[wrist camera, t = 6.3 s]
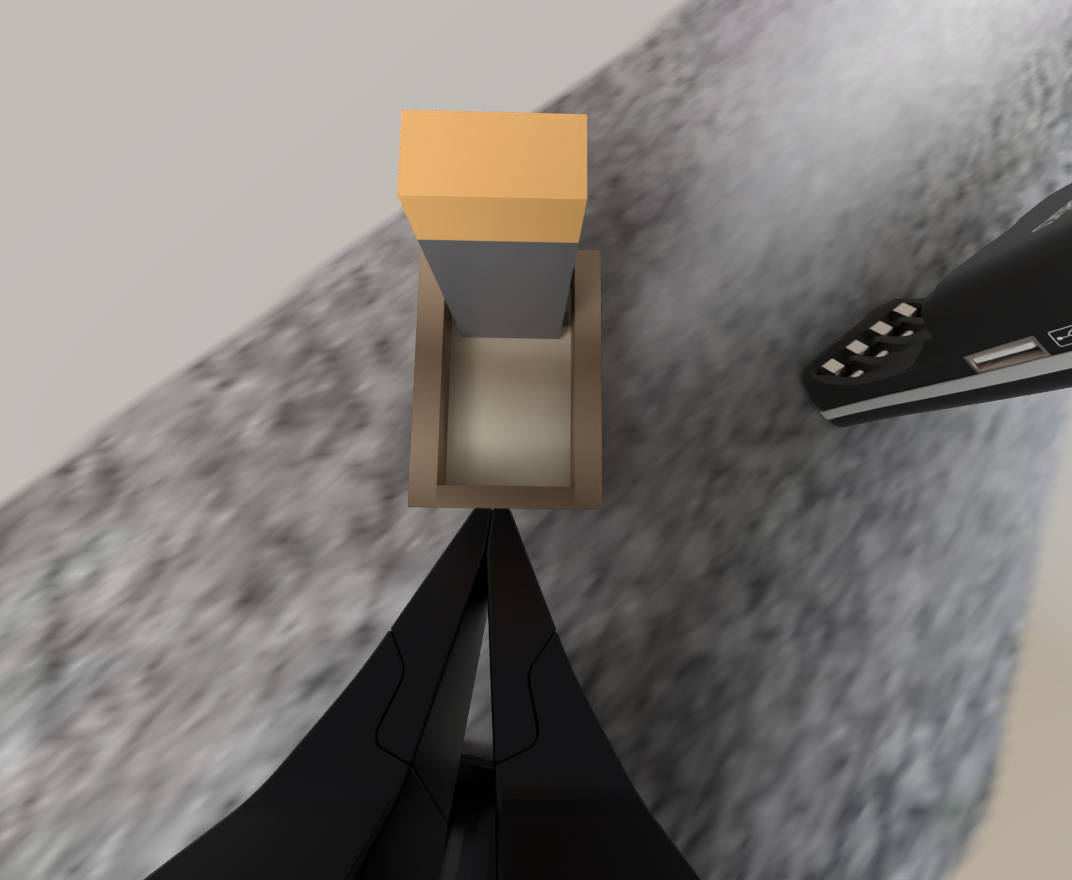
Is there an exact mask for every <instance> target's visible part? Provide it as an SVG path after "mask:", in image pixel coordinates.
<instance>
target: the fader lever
mask: <svg viewBox="0 0 1072 880" xmlns="http://www.w3.org/2000/svg"><path fill="white" fill-rule="evenodd" d="M397 190H398V191H397V196H398V198H399V200H400V202H401V204H402V207H403V209H404V211H405V213H406V216H407V218H408V220H409V222H410V224H411V226H412V229H413V231H414V233H415V235H416V237H417V240H418V242H419V244H420V246H421V248H422V250H423V253H424V255H425V257H426V259H427V261H428V264H429V266H430V268H431V270H432V272H433V275H434V277H435V279H436V281H437V283H438V285H439V288H440V290H441V292H442V294H443V296H444V299H445V301H446V303H447V305H448V307H449V309H450V312H451V314H452V316H453V318H454V320H455V323H456V325H457V327H458V329H459V331H460V333H461V336H462V337H469V338H526V339H559V338H560V333H561V328H562V323H563V318H564V313H565V308H566V303H567V298H568V293H569V288H570V283H571V278H572V273H573V268H574V263H575V258H576V253H577V248H578V243H579V238H580V233H581V228H582V223H583V218H584V213H585V208H586V203H587V114H549V113H510V112H509V113H508V112H469V111H431V110H402V121H401V137H400V154H399V173H398V189H397Z"/></svg>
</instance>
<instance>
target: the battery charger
mask: <svg viewBox="0 0 1072 880" xmlns="http://www.w3.org/2000/svg"><path fill="white" fill-rule="evenodd" d="M804 383H805V386H806V389H807V391H808V392H809V394H810V396H811V398H812V400H813V401H814V402H815V404H816V405H817V406H818V407H819V408H820V409H821V411H820V413H821V414H822V415H823V417H824V418H825V419H826V420H827V419H829V420H830V421H831V423H832V424H833V425H835V426H836V427H846V426H851V425H856V424H861V423H866V422H871V421H877V420H882V419H887V418H892V417H898V416H903V415H909V414H915V413H922V412H929V411H935V410H941V409H947V408H954V407H960V406H966V405H972V404H978V403H984V402H990V401H996V400H1002V399H1008V398H1014V397H1019V396H1025V395H1031V394H1036V393H1042V392H1048V391H1053V390H1058V389H1064V388H1069V387H1072V183H1071V184H1069V185H1067V186H1065V187H1064V188H1062V189H1060V190H1058V191H1056V192H1055V193H1053V194H1051V195H1050V196H1048V197H1047V198H1045V199H1044V200H1043V201H1041V202H1040V203H1039V204H1038V205H1036V206H1035V207H1034V208H1033V209H1031V210H1030V211H1029V212H1028V213H1026V214H1025V215H1024V216H1023V217H1021V218H1020V219H1019V220H1018V222H1017V223H1016V224H1015V225H1014V226H1012V227H1011V228H1010V229H1009V230H1007V231H1006V232H1005V233H1004V234H1002V235H1001V236H1000V237H998V238H997V239H996V240H994V241H993V242H991V243H990V244H988V245H987V246H985V247H984V248H982V249H981V250H980V251H978V252H977V253H976V254H974V255H973V256H972V257H971V258H969V259H968V260H967V261H965V262H964V263H963V264H962V265H960V266H959V267H958V268H956V269H955V270H954V271H953V272H952V273H950V274H949V275H948V276H947V277H946V278H945V279H944V280H943V281H942V282H941V283H940V284H938V285H937V287H936V289H934V290H933V291H932V292H931V293H930V294H929V295H928V296H927V297H926V298H921V299H910V300H909V299H896V300H893V301H891V302H889V303H887V304H885V305H883V306H882V307H880V308H879V309H877V310H876V311H874V312H873V313H872V314H871V315H869V316H868V317H867V318H865V319H864V320H863V321H862V322H860V323H859V324H858V325H856V326H855V327H854V328H853V329H851V330H850V331H849V332H848V333H846V334H845V335H844V336H842V337H841V338H840V339H839V340H837V341H836V342H835V343H833V344H832V345H831V346H830V347H828V348H827V349H826V350H825V351H823V352H822V353H821V354H820V355H818V356H817V357H816V358H815V359H813V360H812V361H811V362H810V363H809V365H808V366H807V367H806V368H805V371H804Z"/></svg>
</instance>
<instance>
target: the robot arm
mask: <svg viewBox="0 0 1072 880" xmlns="http://www.w3.org/2000/svg"><path fill="white" fill-rule="evenodd" d="M487 612H488V622H489V650H490V677H491V704H492V731H493V758H494V762H490V761H487V760H484V759H480V758H477V757H473V756H470V755H467V754H463V753H461V751H462V746H463V741H464V735H465V730H466V725H467V719H468V714H469V708H470V703H471V698H472V692H473V687H474V682H475V676H476V671H477V665H478V660H479V655H480V649H481V644H482V639H483V633H484V628H485V623H486V617H487ZM458 768H459V770H460V771H458ZM144 880H702V879H701V878H700V877H699V875H698V874H697V873H696V871H695V870H694V869H693V867H692V866H691V865H690V863H689V862H688V861H687V859H686V858H685V857H684V855H683V854H682V853H681V852H680V850H679V849H678V848H677V846H676V845H675V844H674V842H673V841H672V840H671V838H670V837H669V836H668V834H667V833H666V832H665V830H664V829H663V828H662V826H661V825H660V824H659V823H658V821H657V820H656V819H655V817H654V816H653V815H652V813H651V812H650V811H649V809H648V808H647V806H646V805H645V803H644V802H643V800H642V798H641V797H640V795H639V794H638V792H637V791H636V789H635V787H634V785H633V784H632V782H631V780H630V779H629V777H628V775H627V773H626V772H625V770H624V768H623V766H622V765H621V763H620V761H619V759H618V757H617V755H616V753H615V751H614V749H613V748H612V746H611V744H610V742H609V740H608V738H607V736H606V734H605V732H604V731H603V729H602V727H601V725H600V723H599V721H598V719H597V717H596V716H595V714H594V712H593V710H592V708H591V706H590V704H589V702H588V700H587V698H586V696H585V694H584V692H583V690H582V688H581V686H580V684H579V682H578V680H577V678H576V676H575V674H574V672H573V669H572V667H571V665H570V662H569V660H568V657H567V655H566V653H565V650H564V648H563V645H562V643H561V640H560V637H559V635H558V633H557V632H556V628H555V625H554V622H553V620H552V617H551V614H550V612H549V609H548V607H547V604H546V601H545V599H544V596H543V594H542V591H541V588H540V586H539V583H538V581H537V578H536V575H535V573H534V570H533V568H532V565H531V562H530V560H529V557H528V555H527V552H526V549H525V547H524V544H523V541H522V539H521V536H520V534H519V531H518V528H517V526H516V523H515V521H514V518H513V515H512V513H511V510H510V509H509V508H494V509H493V510H492V509H491V508H481V507H478V508H475V509H474V510H473V511H472V513H471V514H470V515H469V517H468V518H467V520H466V521H465V523H464V524H463V525H462V527H461V528H460V530H459V531H458V533H457V534H456V535H455V537H454V538H453V540H452V541H451V543H450V544H449V545H448V547H447V548H446V550H445V551H444V553H443V554H442V555H441V557H440V558H439V560H438V561H437V563H436V564H435V565H434V567H433V568H432V570H431V571H430V573H429V574H428V575H427V577H426V578H425V580H424V581H423V583H422V584H421V586H420V587H419V588H418V590H417V591H416V593H415V594H414V596H413V597H412V598H411V600H410V601H409V603H408V604H407V606H406V607H405V608H404V610H403V611H402V613H401V614H400V616H399V617H398V618H397V620H396V621H395V623H394V624H393V626H392V627H391V631H388V632H387V634H386V635H385V637H384V638H383V640H382V641H381V642H380V644H379V645H378V647H377V648H376V650H375V651H374V652H373V654H372V655H371V656H370V658H369V659H368V660H367V662H366V663H365V664H364V666H363V667H362V668H361V670H360V671H359V672H358V674H357V675H356V676H355V677H354V679H353V680H352V681H351V682H350V683H349V685H348V686H347V687H346V688H345V690H344V691H343V692H342V693H341V695H340V696H339V697H338V698H337V699H336V701H335V702H334V703H333V704H332V705H331V706H330V708H329V709H328V710H327V711H326V712H325V713H324V715H323V716H322V717H321V718H320V719H319V721H318V722H317V723H316V724H315V725H314V726H313V728H312V729H311V730H310V731H309V732H308V733H307V735H306V736H305V737H304V738H303V739H302V740H301V742H300V743H299V744H298V745H297V746H296V748H295V749H294V750H293V751H292V752H291V753H290V755H289V756H288V757H287V758H286V759H285V760H284V762H283V763H282V764H281V765H280V766H279V767H278V769H277V770H276V771H275V772H274V773H273V774H272V775H271V776H270V777H269V779H268V780H267V781H266V782H265V783H264V784H263V785H262V786H261V787H260V788H259V789H258V790H257V791H256V792H255V793H253V794H252V795H251V796H250V797H249V798H248V799H247V800H246V801H245V802H244V803H242V804H241V805H240V806H239V807H238V808H237V809H235V810H234V811H233V812H232V813H230V814H229V815H228V816H226V817H225V818H224V819H222V820H221V821H220V822H218V823H217V824H216V825H215V826H213V827H212V828H211V829H209V830H208V831H207V832H205V833H204V834H203V835H201V836H200V837H199V838H197V839H196V840H195V841H194V842H192V843H191V844H190V845H188V846H187V847H186V848H184V849H183V850H182V851H180V852H179V853H178V854H176V855H175V856H174V857H172V858H171V859H170V860H169V861H167V862H166V863H165V864H163V865H162V866H161V867H159V868H158V869H157V870H155V871H154V872H153V873H151V874H150V875H149V876H147V877H146V878H145V879H144Z"/></svg>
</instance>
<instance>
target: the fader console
mask: <svg viewBox="0 0 1072 880" xmlns="http://www.w3.org/2000/svg"><path fill="white" fill-rule="evenodd" d="M408 507H427V508H478V507H481V508H512V509H598V510H602V393H601V250H580V249H577V253H576V258H575V263H574V268H573V273H572V278H571V283H570V288H569V293H568V298H567V303H566V308H565V313H564V318H563V323H562V328H561V333H560V338H559V339H526V338H469V337H462V336H461V333H460V331H459V329H458V327H457V325H456V323H455V320H454V318H453V316H452V314H451V312H450V309H449V307H448V305H447V303H446V301H445V299H444V296H443V294H442V292H441V290H440V288H439V285H438V283H437V281H436V279H435V277H434V275H433V272H432V270H431V268H430V266H429V264H428V261H427V259H426V257H425V255H424V253H423V250H422V248H421V247H420V267H419V288H418V308H417V328H416V349H415V369H414V389H413V410H412V430H411V450H410V471H409V491H408Z"/></svg>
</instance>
